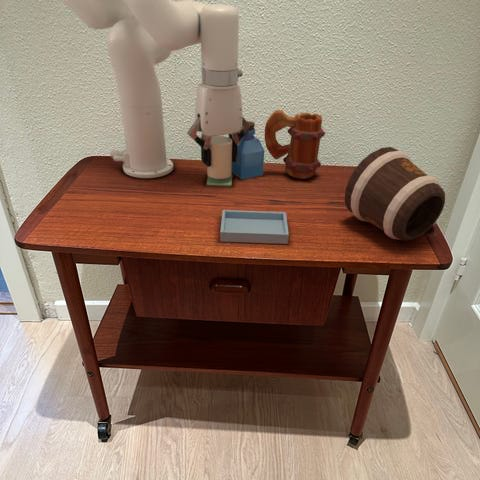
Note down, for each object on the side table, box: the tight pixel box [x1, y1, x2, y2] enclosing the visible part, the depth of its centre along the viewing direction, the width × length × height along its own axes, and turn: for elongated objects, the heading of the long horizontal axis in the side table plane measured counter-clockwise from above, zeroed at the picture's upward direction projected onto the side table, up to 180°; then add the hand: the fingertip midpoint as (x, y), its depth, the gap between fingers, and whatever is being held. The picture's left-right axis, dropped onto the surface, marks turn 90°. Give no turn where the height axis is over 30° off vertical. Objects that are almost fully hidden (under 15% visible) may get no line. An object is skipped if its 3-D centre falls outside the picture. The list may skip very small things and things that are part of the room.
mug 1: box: [264, 109, 326, 180], centre depth 104 cm, size 15×8×15 cm, turn 84°
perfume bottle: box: [232, 120, 265, 180], centre depth 104 cm, size 6×6×12 cm
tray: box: [219, 209, 290, 245], centre depth 86 cm, size 13×9×2 cm
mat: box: [206, 174, 233, 187], centre depth 104 cm, size 6×6×1 cm
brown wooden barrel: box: [344, 146, 446, 242], centre depth 85 cm, size 20×15×15 cm
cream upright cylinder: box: [206, 135, 233, 179], centre depth 100 cm, size 6×6×8 cm
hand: (219, 161), depth 101 cm, fingers closed on cream upright cylinder, 6 cm apart
